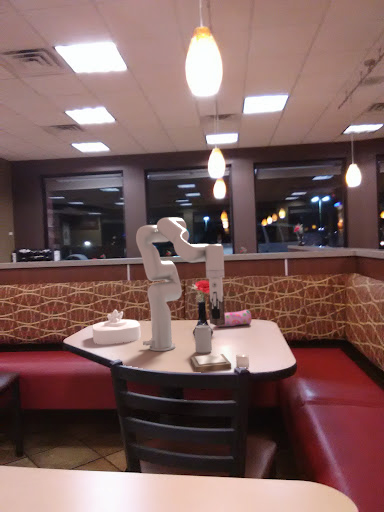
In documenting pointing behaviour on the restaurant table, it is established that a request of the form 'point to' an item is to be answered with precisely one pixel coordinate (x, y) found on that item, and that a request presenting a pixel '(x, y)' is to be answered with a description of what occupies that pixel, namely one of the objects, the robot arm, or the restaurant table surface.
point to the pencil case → (237, 318)
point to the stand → (210, 362)
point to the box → (222, 314)
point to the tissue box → (116, 330)
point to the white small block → (242, 360)
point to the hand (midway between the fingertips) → (216, 316)
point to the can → (203, 339)
